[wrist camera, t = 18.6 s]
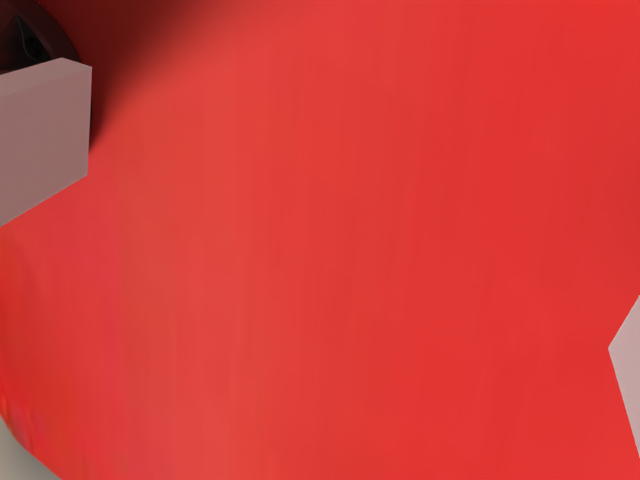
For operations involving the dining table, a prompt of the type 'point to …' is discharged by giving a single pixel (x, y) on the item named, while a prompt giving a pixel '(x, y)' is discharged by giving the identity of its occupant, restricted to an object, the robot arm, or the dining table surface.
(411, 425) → the dining table surface
